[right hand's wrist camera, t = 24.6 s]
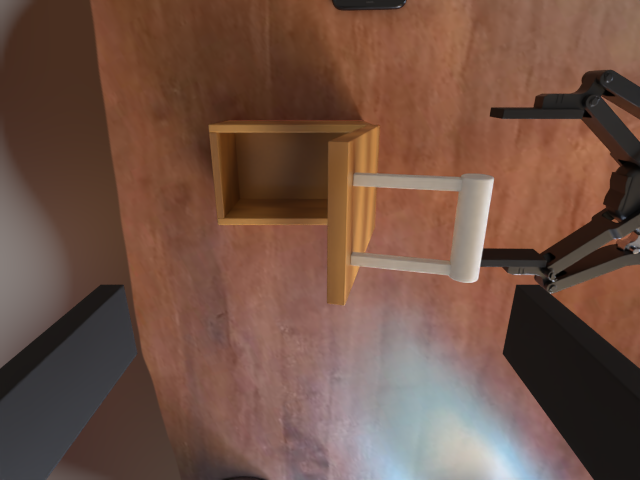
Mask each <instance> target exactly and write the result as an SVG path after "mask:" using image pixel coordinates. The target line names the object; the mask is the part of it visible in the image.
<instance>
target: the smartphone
mask: <svg viewBox="0 0 640 480" xmlns="http://www.w3.org/2000/svg"><path fill="white" fill-rule="evenodd" d="M406 1H407V0H332V2H333V5H334V7H335V8H337V9H338V10H388V9H399V8H401V7H403V6H404V5H405V3H406Z"/></svg>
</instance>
